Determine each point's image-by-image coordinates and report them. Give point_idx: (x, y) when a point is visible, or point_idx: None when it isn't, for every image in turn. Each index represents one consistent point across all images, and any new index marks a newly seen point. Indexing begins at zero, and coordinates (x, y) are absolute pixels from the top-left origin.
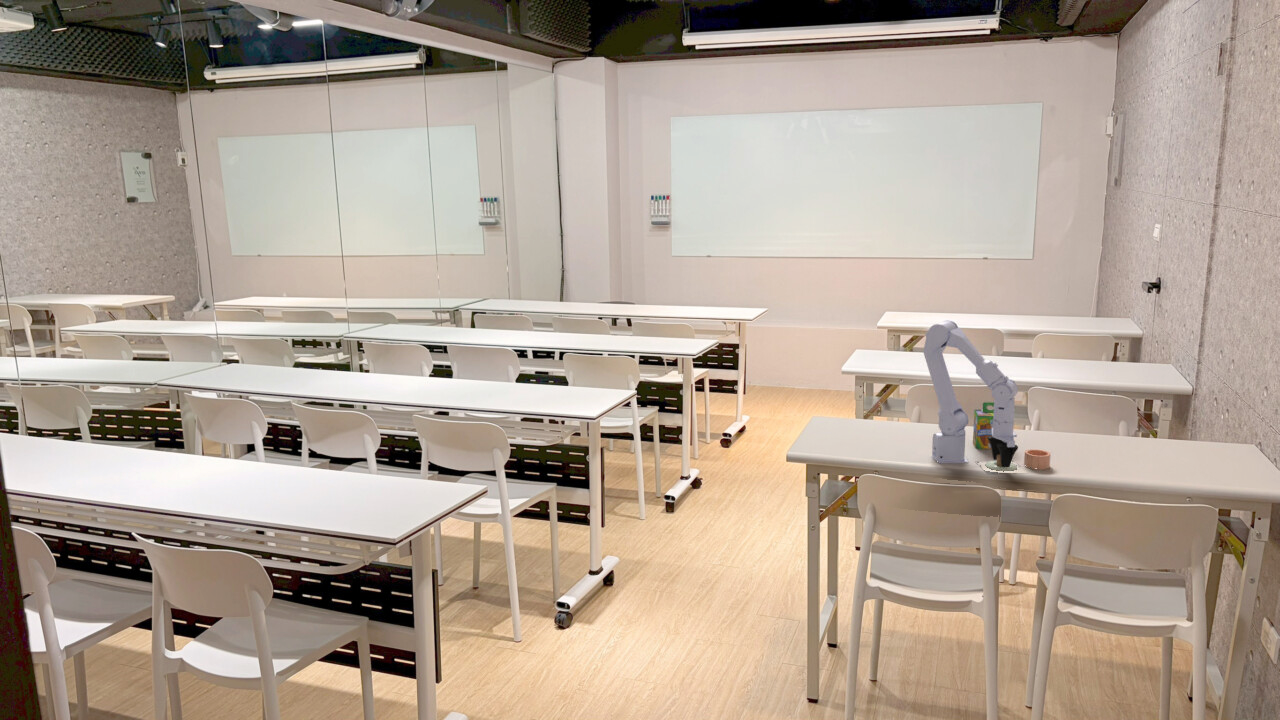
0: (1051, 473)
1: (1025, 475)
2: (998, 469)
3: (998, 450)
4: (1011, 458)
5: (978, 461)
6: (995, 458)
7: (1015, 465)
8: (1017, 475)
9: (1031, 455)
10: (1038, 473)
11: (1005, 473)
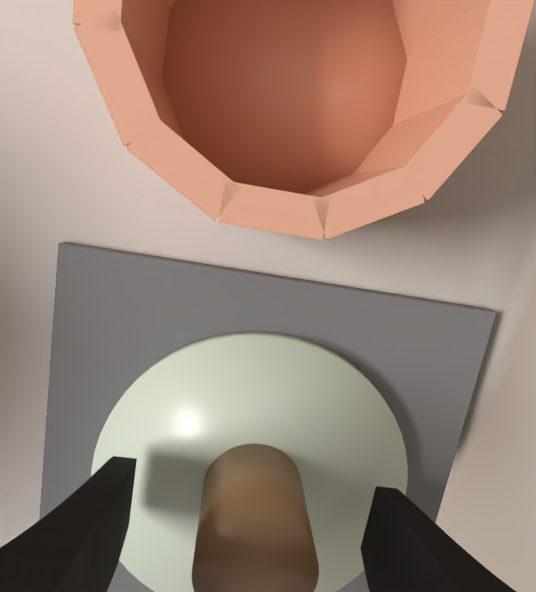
0: (527, 45)
1: (494, 349)
2: None
3: (87, 581)
4: (473, 567)
5: None
6: (126, 528)
7: (286, 352)
8: (470, 418)
9: (410, 207)
10: (482, 190)
11: (429, 516)
